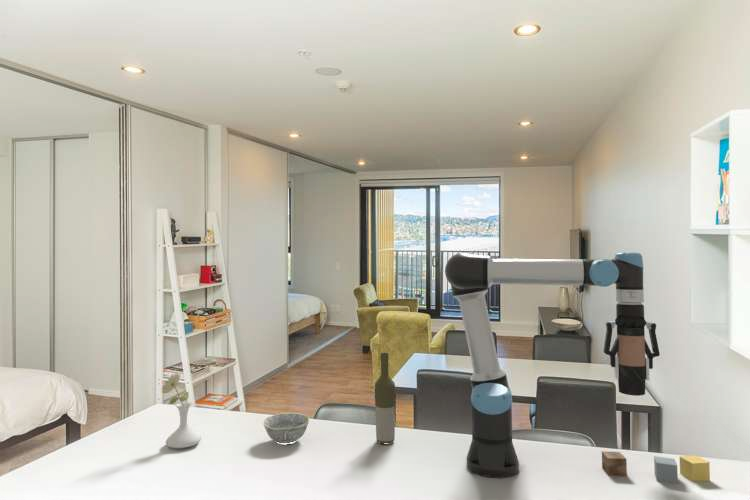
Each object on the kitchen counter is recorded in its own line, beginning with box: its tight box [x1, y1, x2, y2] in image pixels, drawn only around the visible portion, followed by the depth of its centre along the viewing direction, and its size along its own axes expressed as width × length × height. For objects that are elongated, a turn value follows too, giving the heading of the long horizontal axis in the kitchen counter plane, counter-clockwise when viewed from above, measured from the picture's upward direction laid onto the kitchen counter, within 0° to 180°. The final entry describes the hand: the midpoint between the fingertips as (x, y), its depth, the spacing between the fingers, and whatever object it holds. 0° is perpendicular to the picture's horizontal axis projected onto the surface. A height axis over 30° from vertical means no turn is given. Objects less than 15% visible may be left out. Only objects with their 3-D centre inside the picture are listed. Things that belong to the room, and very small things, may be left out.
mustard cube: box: [679, 455, 711, 482], centre depth 138 cm, size 5×5×5 cm
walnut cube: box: [601, 450, 628, 477], centre depth 142 cm, size 5×5×5 cm
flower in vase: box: [161, 372, 202, 449], centre depth 166 cm, size 13×11×25 cm
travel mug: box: [616, 325, 646, 397], centre depth 149 cm, size 8×8×20 cm
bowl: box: [262, 412, 311, 443], centre depth 169 cm, size 16×16×8 cm
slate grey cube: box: [653, 455, 679, 485], centre depth 137 cm, size 5×5×5 cm
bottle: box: [374, 352, 396, 444], centre depth 168 cm, size 7×7×30 cm
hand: (631, 378), depth 149 cm, fingers closed on travel mug, 8 cm apart
